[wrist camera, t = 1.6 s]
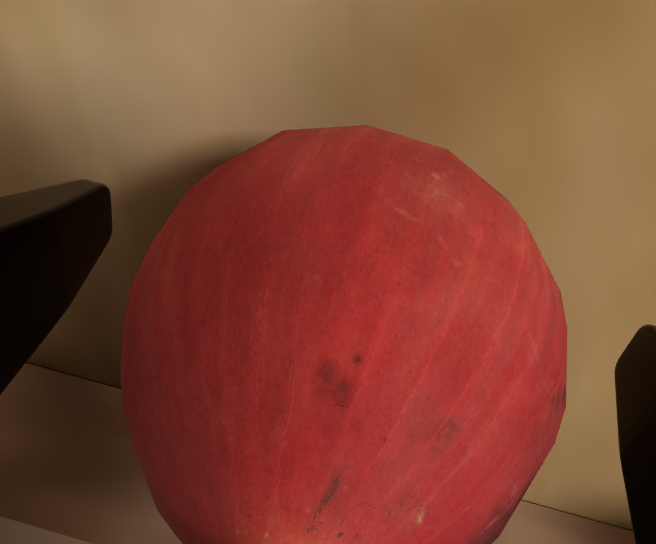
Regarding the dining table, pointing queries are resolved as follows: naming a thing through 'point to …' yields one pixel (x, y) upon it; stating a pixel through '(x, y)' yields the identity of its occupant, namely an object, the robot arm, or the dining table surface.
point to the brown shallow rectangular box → (138, 474)
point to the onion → (342, 348)
